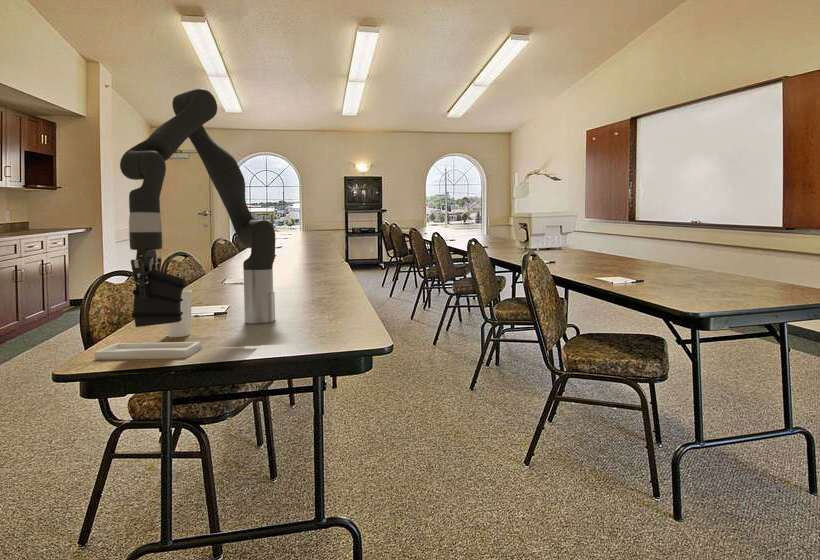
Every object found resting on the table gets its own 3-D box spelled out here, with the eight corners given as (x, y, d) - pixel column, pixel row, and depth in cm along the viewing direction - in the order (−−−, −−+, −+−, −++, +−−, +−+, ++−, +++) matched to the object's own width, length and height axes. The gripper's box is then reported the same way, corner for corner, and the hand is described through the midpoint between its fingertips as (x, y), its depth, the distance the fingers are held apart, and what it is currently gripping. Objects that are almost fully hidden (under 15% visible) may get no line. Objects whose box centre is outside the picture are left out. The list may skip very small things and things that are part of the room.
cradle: (201, 349, 154) (200, 341, 153) (186, 358, 142) (186, 350, 141) (116, 350, 152) (116, 343, 152) (94, 359, 140) (94, 351, 140)
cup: (158, 340, 167) (156, 292, 166) (178, 336, 174) (176, 289, 174) (180, 342, 164) (178, 292, 163) (200, 337, 172) (198, 290, 171)
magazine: (125, 320, 147) (143, 265, 147) (176, 336, 150) (194, 282, 149) (120, 322, 144) (139, 266, 143) (172, 338, 146) (191, 283, 146)
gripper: (149, 230, 138) (152, 301, 139) (170, 231, 152) (173, 295, 153) (117, 230, 137) (120, 301, 139) (141, 231, 152) (144, 296, 153)
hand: (148, 298), depth 146 cm, fingers closed on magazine, 4 cm apart
